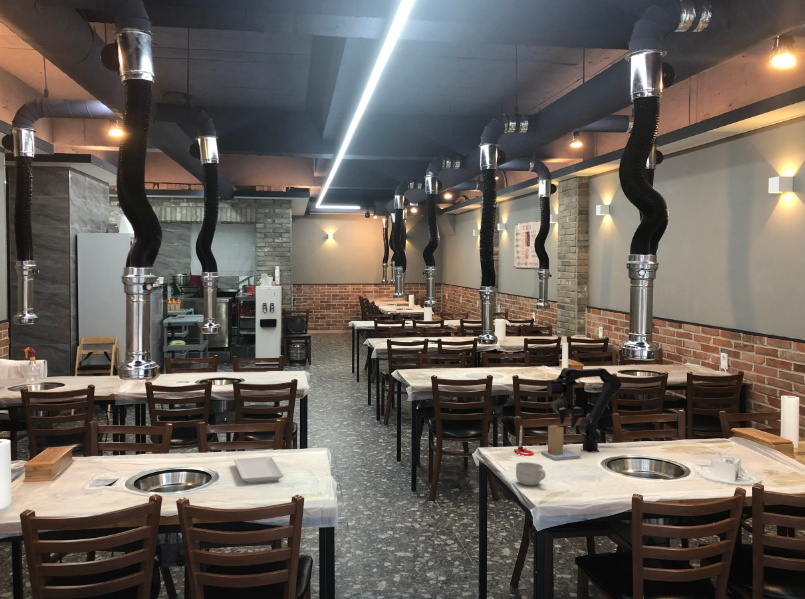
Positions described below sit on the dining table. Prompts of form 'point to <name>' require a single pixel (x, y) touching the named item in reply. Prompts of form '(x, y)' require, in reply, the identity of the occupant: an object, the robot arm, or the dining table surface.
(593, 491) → the dining table surface
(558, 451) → the gold metal block
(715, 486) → the dining table surface
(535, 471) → the teacup
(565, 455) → the mat
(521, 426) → the tow hook
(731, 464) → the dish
